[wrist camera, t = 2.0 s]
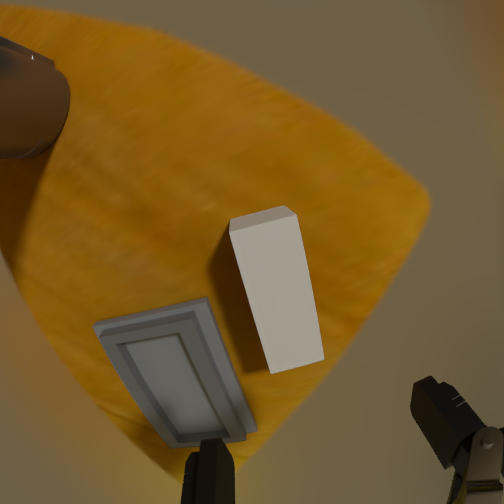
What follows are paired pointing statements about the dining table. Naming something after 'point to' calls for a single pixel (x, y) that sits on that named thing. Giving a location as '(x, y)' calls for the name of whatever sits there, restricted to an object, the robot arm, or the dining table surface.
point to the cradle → (179, 373)
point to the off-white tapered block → (278, 286)
